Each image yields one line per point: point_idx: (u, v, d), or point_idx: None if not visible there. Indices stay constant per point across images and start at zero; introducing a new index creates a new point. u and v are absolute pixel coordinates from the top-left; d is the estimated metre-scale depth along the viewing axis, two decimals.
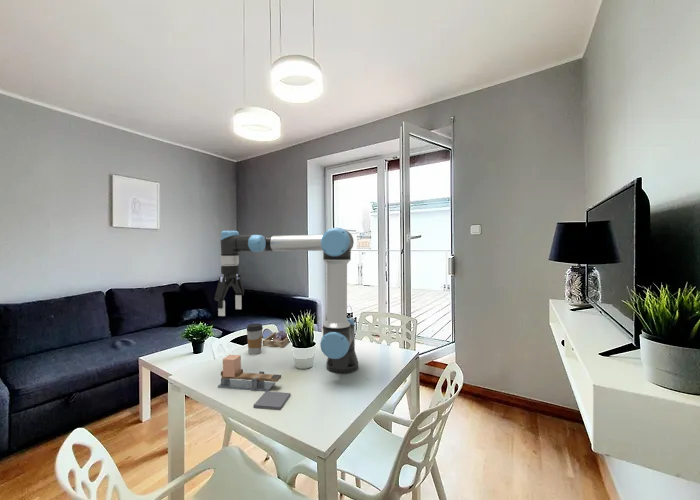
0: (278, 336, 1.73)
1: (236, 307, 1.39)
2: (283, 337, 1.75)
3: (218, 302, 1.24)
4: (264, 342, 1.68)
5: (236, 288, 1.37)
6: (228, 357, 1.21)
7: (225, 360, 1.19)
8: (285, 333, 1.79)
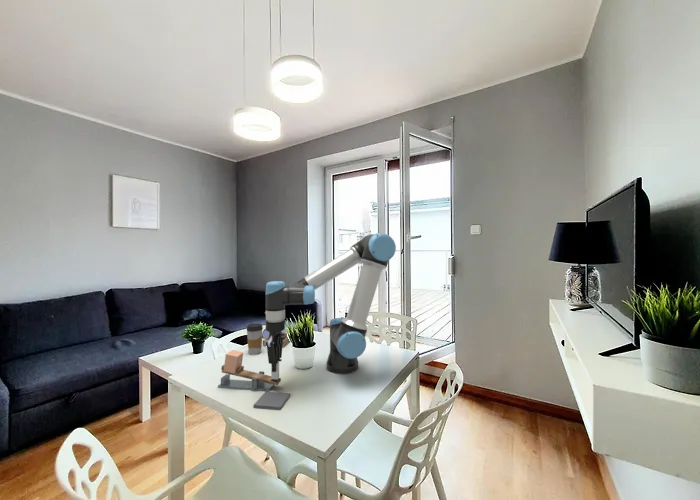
0: None
1: None
2: None
3: (272, 365, 1.17)
4: (264, 342, 1.68)
5: None
6: (231, 353, 1.21)
7: (228, 355, 1.19)
8: None
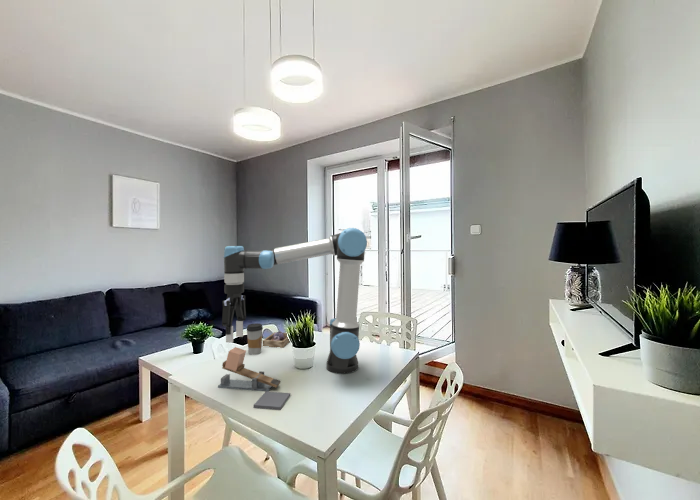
0: (276, 337, 1.72)
1: (237, 334, 1.24)
2: (281, 337, 1.74)
3: (226, 328, 1.16)
4: (264, 342, 1.68)
5: (238, 311, 1.23)
6: (234, 350, 1.21)
7: (230, 352, 1.19)
8: None
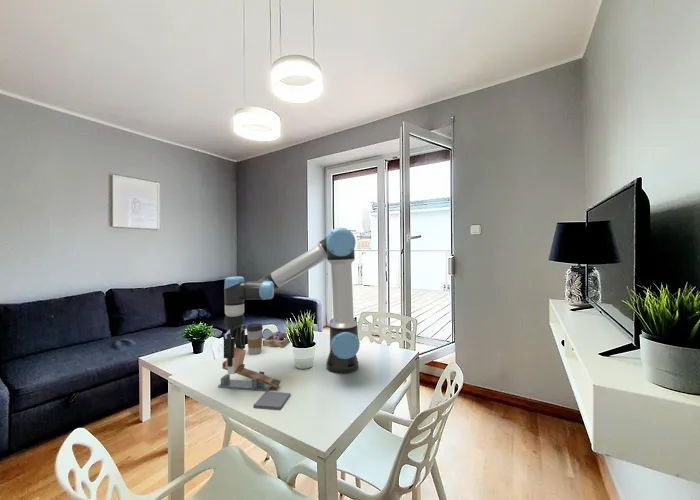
0: (276, 336, 1.73)
1: None
2: (281, 337, 1.74)
3: (228, 360, 1.17)
4: (264, 342, 1.68)
5: (238, 341, 1.23)
6: (234, 350, 1.21)
7: None
8: None
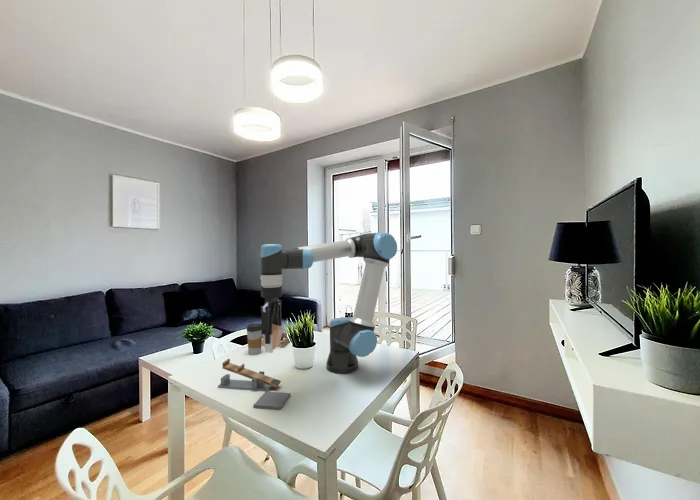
0: None
1: None
2: None
3: (265, 336, 1.04)
4: None
5: (275, 317, 1.10)
6: None
7: None
8: None
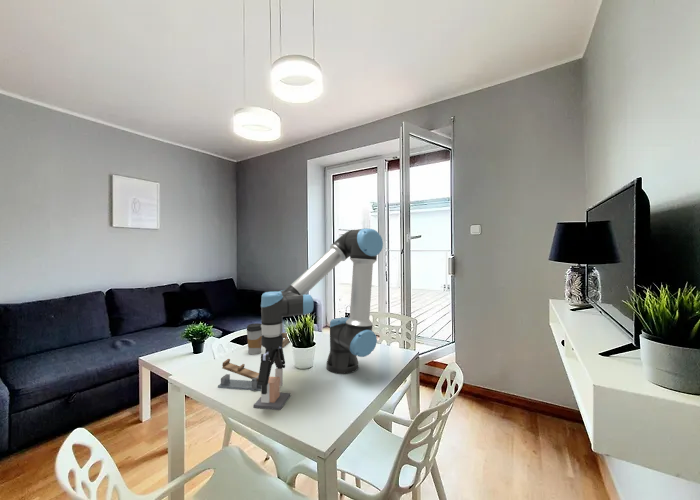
0: None
1: None
2: None
3: (262, 386, 1.01)
4: None
5: (277, 361, 1.12)
6: None
7: None
8: None
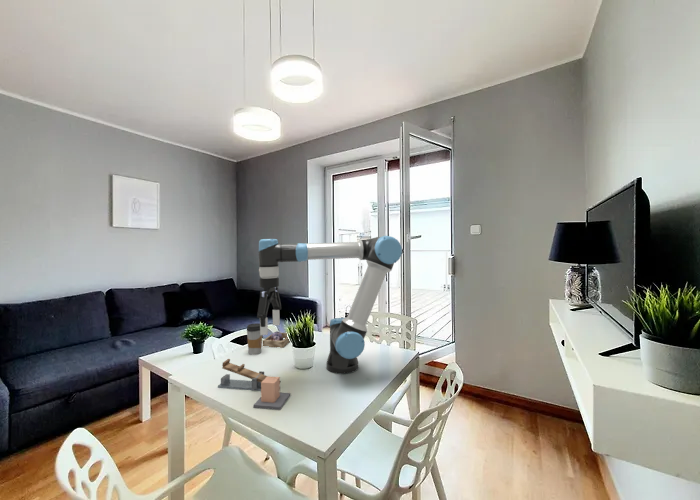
0: (276, 337, 1.72)
1: (274, 323, 1.25)
2: (280, 337, 1.75)
3: (260, 320, 1.11)
4: (264, 342, 1.68)
5: (274, 302, 1.23)
6: (266, 380, 1.08)
7: (263, 383, 1.06)
8: (280, 333, 1.78)
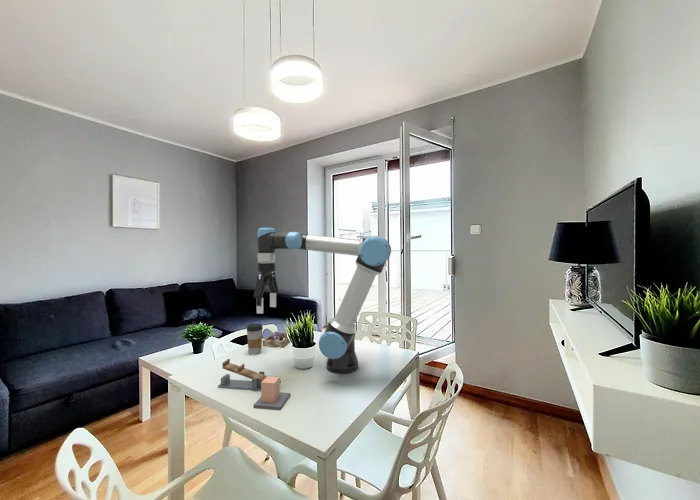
0: (276, 337, 1.72)
1: (271, 305, 1.38)
2: (280, 337, 1.75)
3: (257, 300, 1.23)
4: (264, 342, 1.68)
5: (271, 286, 1.36)
6: (266, 380, 1.08)
7: (263, 383, 1.06)
8: (280, 333, 1.78)
